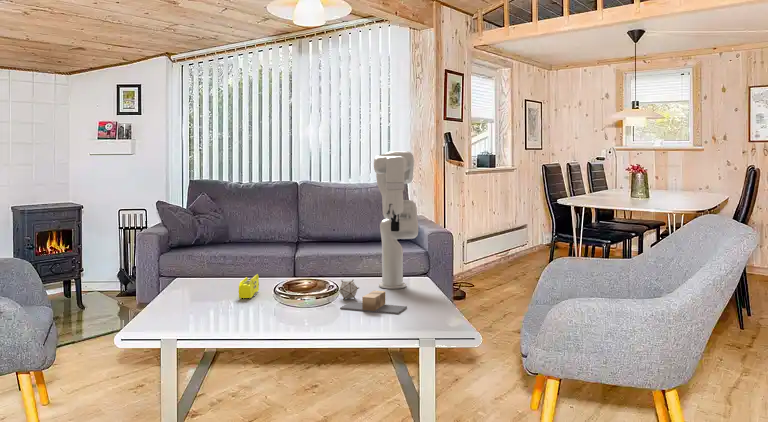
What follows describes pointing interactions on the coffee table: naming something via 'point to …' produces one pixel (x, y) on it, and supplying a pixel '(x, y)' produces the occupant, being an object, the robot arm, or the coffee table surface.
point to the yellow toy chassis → (249, 287)
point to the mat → (383, 309)
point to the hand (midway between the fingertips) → (395, 231)
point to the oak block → (373, 300)
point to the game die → (348, 289)
